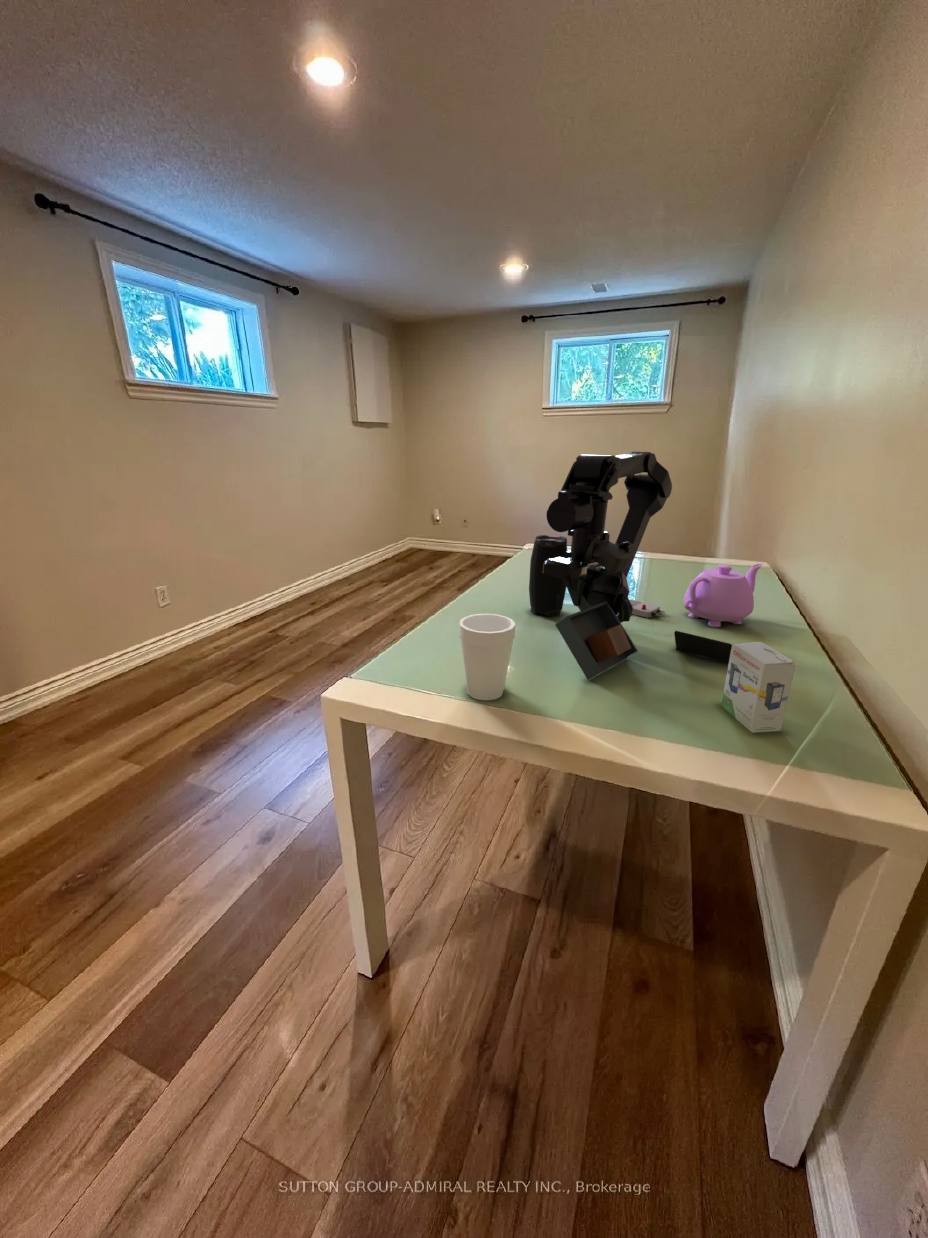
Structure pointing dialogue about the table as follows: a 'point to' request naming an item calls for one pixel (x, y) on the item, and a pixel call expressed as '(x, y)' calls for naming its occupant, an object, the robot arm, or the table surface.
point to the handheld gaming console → (703, 646)
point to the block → (609, 643)
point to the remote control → (645, 609)
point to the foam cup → (486, 653)
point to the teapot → (721, 595)
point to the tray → (587, 625)
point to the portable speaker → (546, 576)
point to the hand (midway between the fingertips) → (579, 604)
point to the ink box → (757, 686)
